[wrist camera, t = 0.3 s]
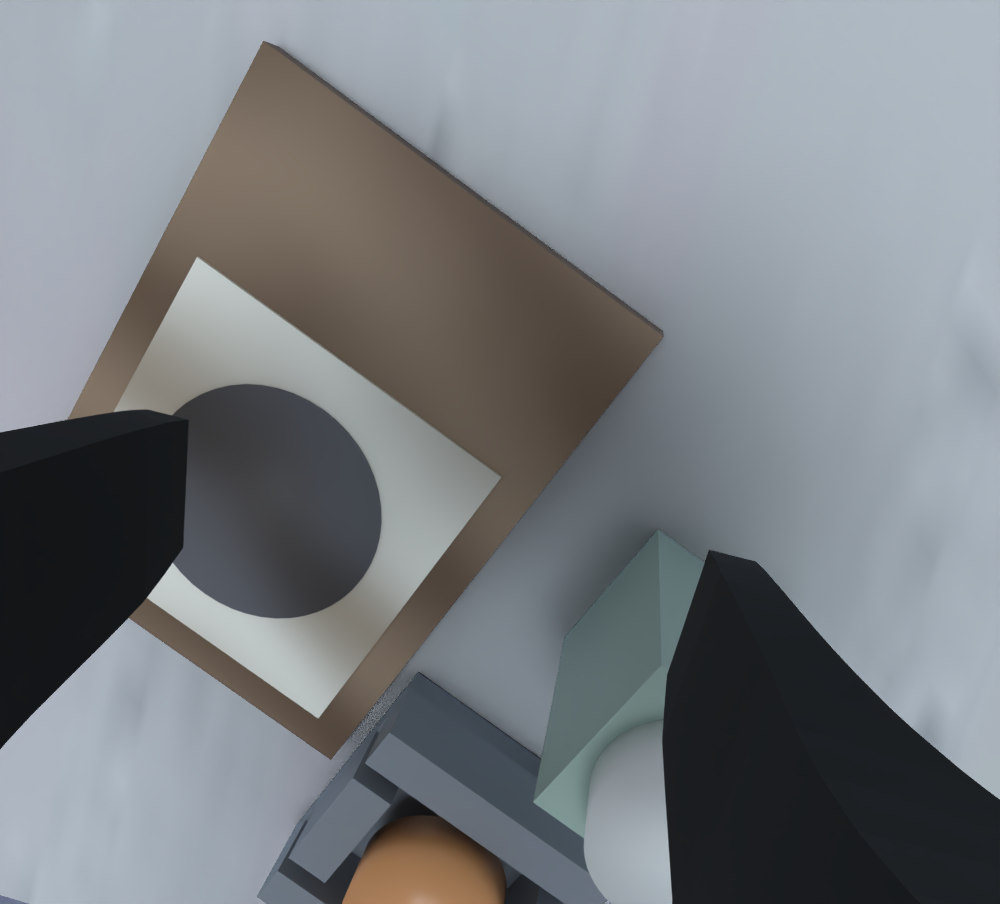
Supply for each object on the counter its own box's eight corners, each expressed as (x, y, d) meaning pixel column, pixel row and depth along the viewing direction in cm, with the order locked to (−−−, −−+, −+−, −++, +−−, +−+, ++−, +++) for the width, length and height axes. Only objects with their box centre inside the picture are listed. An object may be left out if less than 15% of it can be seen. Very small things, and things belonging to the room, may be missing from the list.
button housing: (481, 953, 26) (462, 1038, 24) (296, 825, 26) (256, 896, 23) (619, 815, 24) (615, 892, 21) (418, 672, 24) (389, 732, 21)
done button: (453, 960, 24) (438, 1019, 22) (336, 878, 24) (311, 932, 22) (536, 875, 22) (527, 931, 21) (412, 788, 22) (393, 838, 21)
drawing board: (340, 742, 25) (328, 764, 24) (28, 522, 25) (3, 536, 24) (662, 331, 20) (663, 338, 19) (278, 47, 20) (259, 39, 19)
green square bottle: (684, 723, 23) (700, 985, 15) (564, 637, 23) (522, 859, 15) (784, 621, 22) (856, 852, 14) (658, 529, 21) (662, 713, 14)
